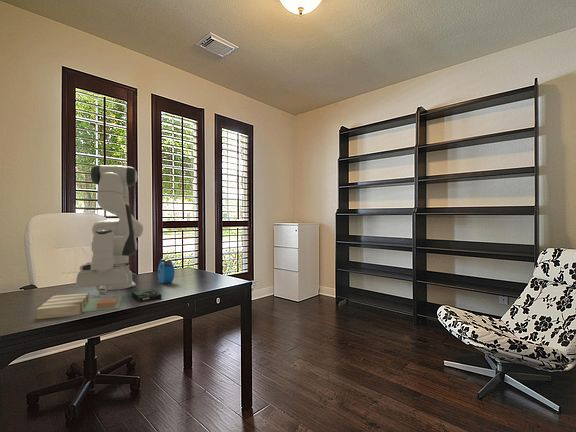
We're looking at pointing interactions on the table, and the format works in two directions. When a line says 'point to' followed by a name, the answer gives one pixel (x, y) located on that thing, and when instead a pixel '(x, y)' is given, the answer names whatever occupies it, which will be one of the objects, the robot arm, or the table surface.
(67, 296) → the riser
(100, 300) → the orange flat block
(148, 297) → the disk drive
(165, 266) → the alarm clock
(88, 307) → the mat
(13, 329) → the table surface
